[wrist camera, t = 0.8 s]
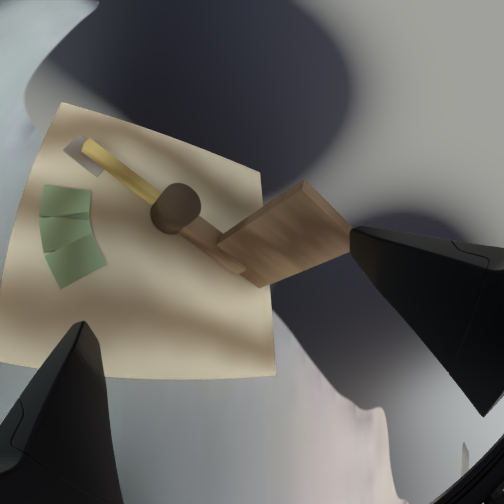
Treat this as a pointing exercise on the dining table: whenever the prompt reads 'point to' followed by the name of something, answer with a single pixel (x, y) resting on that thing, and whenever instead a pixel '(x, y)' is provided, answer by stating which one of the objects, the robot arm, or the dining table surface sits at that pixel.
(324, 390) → the dining table surface
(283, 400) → the dining table surface
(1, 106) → the dining table surface
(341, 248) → the brown piece
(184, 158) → the dial board
